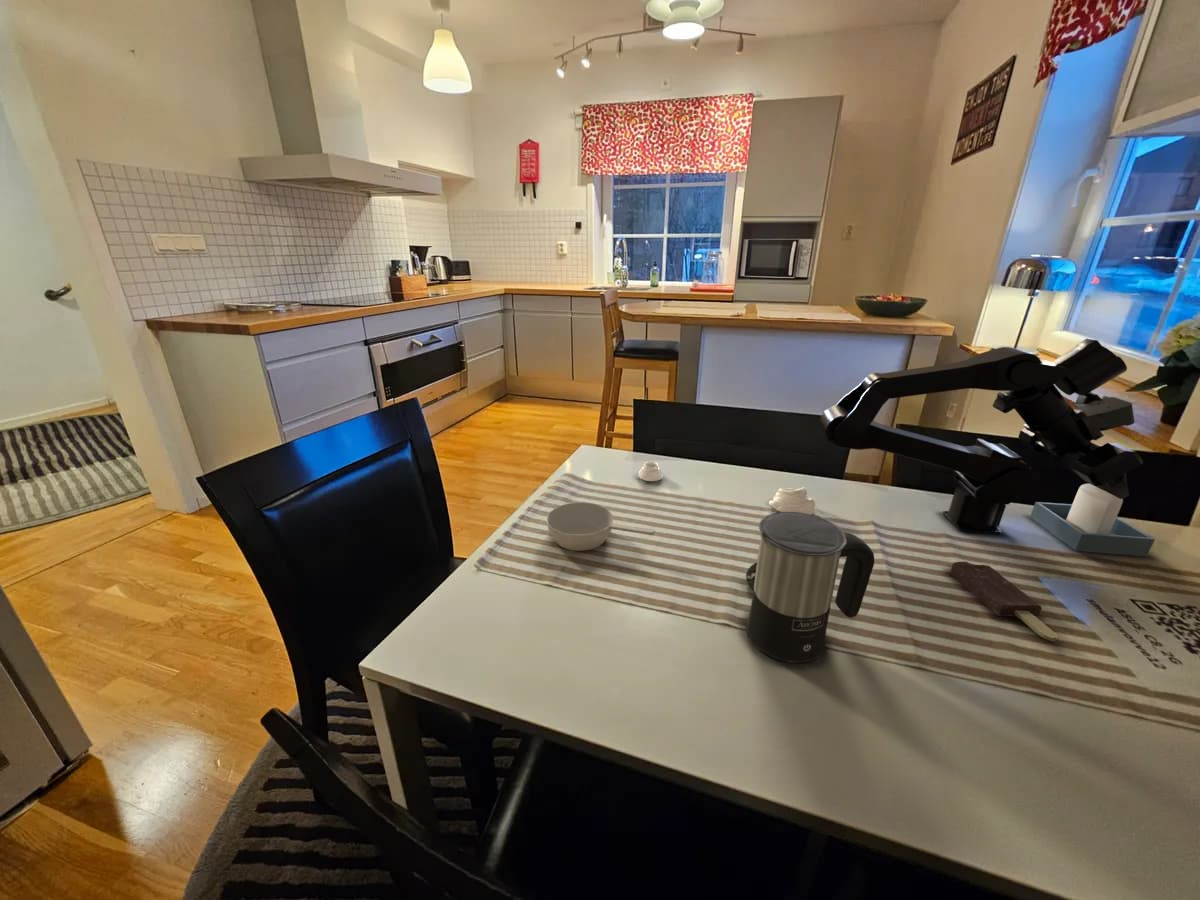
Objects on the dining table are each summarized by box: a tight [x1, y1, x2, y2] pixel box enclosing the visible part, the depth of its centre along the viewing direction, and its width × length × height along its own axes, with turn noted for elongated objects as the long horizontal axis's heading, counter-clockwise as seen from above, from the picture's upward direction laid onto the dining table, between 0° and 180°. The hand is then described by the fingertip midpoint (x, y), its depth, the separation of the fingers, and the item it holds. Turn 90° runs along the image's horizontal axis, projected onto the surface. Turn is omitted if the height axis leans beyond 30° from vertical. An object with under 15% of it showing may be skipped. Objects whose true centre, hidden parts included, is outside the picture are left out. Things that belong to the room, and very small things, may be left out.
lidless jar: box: [638, 461, 664, 482], centre depth 102 cm, size 5×3×5 cm
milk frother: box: [745, 511, 875, 664], centre depth 61 cm, size 14×16×15 cm
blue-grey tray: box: [1029, 501, 1156, 557], centre depth 82 cm, size 10×11×3 cm
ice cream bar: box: [949, 561, 1058, 642], centre depth 65 cm, size 5×2×15 cm
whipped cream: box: [768, 486, 817, 515], centre depth 89 cm, size 8×7×5 cm
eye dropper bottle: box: [1066, 483, 1124, 535], centre depth 80 cm, size 4×6×12 cm
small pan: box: [546, 501, 656, 552], centre depth 79 cm, size 11×18×4 cm, turn 68°
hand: (1102, 484), depth 79 cm, fingers open, 9 cm apart
